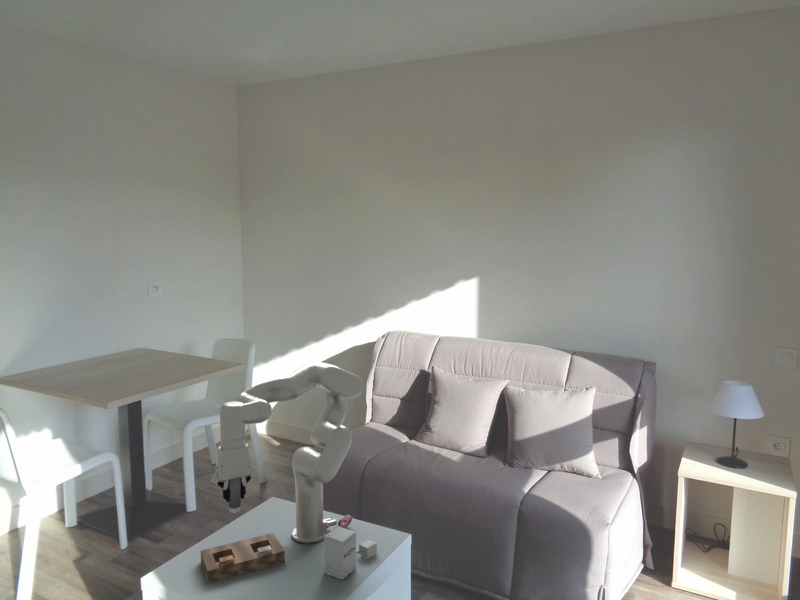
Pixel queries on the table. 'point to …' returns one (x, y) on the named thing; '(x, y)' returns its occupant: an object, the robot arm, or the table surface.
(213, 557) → the socket block
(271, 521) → the table surface
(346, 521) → the video game controller
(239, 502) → the charcoal plug
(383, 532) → the table surface
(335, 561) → the supplement box
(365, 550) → the usb wall charger
